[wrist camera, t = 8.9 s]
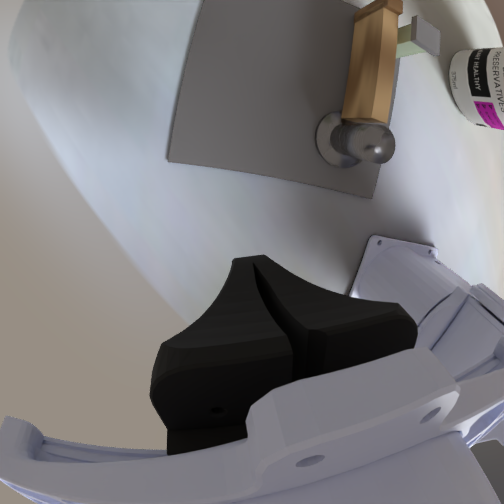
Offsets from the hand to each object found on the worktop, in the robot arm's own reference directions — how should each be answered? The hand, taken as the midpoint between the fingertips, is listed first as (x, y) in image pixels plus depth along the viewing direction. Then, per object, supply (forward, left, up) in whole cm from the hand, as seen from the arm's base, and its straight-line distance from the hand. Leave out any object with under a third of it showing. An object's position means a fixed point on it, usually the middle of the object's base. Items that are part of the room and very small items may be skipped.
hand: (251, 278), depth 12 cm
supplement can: (-21, -18, -10) cm, 29 cm away
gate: (-7, -13, -9) cm, 18 cm away
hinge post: (-7, -7, -10) cm, 14 cm away
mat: (-3, -11, -10) cm, 15 cm away
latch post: (-9, -16, -10) cm, 21 cm away
